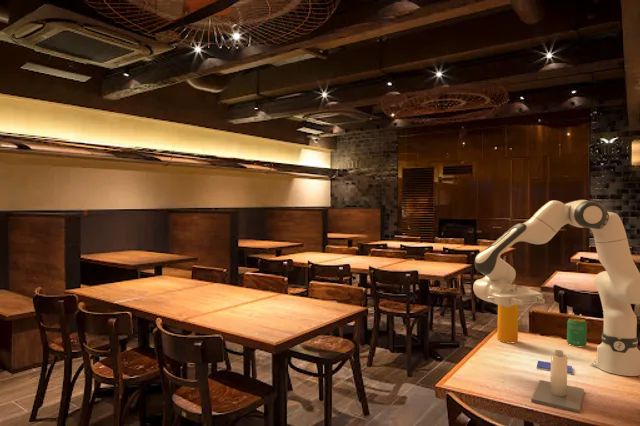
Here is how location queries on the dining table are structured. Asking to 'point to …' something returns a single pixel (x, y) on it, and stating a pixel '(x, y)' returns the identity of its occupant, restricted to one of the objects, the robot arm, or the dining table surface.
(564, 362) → the salt mill
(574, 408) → the slate board
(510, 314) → the beer bottle
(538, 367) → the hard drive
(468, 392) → the dining table surface
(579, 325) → the beverage can
